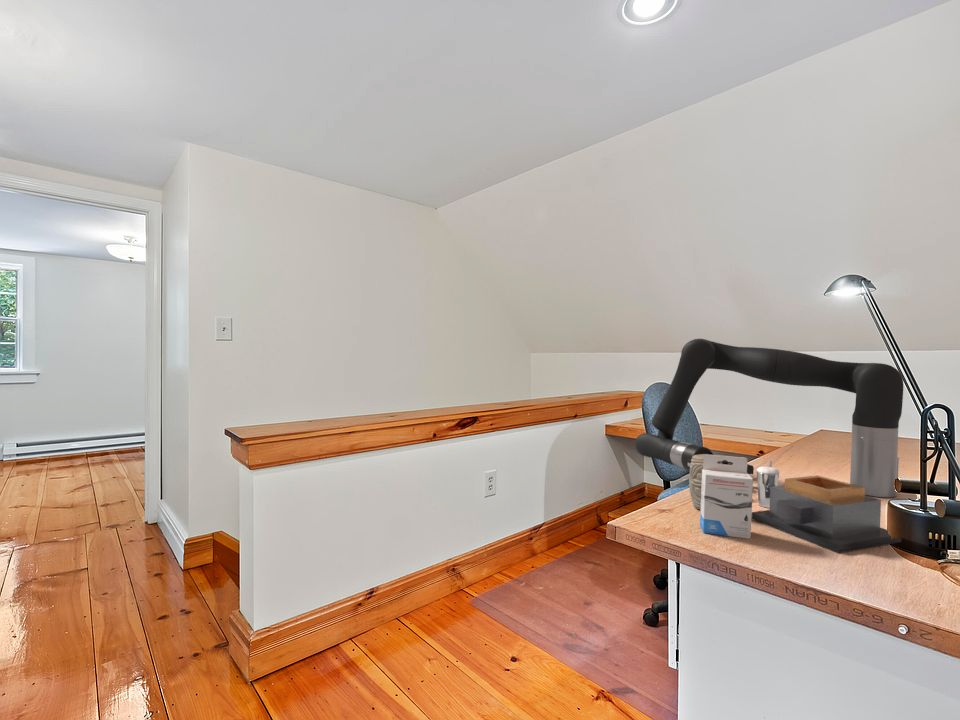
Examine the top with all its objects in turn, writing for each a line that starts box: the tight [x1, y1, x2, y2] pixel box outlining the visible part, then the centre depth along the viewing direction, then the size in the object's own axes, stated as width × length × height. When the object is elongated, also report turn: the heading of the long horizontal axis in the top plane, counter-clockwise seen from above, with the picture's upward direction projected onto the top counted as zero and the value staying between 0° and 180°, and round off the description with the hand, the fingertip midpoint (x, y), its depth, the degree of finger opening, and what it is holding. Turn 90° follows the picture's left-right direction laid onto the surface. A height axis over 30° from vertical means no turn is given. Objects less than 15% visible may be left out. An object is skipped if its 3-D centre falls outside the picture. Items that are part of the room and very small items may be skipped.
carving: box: [688, 454, 722, 511], centre depth 109 cm, size 6×8×12 cm
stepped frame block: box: [751, 475, 902, 554], centre depth 97 cm, size 18×18×10 cm
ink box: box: [699, 454, 754, 540], centre depth 96 cm, size 8×5×15 cm, turn 73°
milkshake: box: [756, 460, 780, 509], centre depth 113 cm, size 5×5×10 cm
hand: (739, 471), depth 120 cm, fingers open, 8 cm apart
